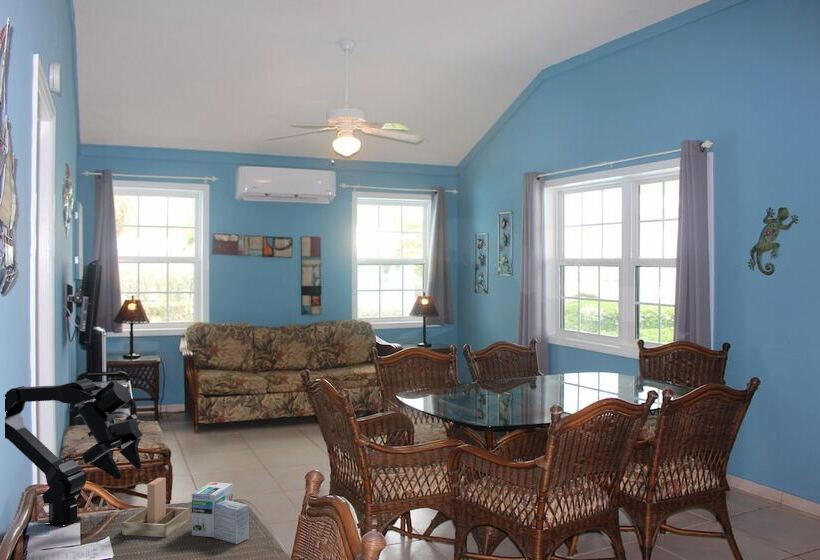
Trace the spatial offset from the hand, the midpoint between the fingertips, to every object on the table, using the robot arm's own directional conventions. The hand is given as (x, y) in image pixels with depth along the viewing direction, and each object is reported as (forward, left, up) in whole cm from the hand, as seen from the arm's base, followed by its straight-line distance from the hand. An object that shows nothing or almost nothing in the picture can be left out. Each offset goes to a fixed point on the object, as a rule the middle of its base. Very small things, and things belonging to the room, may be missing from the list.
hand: (130, 473), depth 184 cm
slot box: (+7, +2, -14) cm, 16 cm away
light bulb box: (+22, +5, -14) cm, 26 cm away
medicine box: (+30, +1, -14) cm, 33 cm away
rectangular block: (+7, +2, -14) cm, 16 cm away
